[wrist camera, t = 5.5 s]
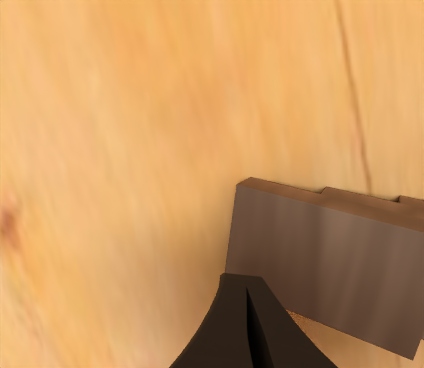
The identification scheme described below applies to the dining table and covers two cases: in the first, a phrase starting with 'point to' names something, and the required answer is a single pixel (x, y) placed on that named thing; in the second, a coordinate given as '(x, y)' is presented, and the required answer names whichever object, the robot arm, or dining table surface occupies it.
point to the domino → (333, 261)
